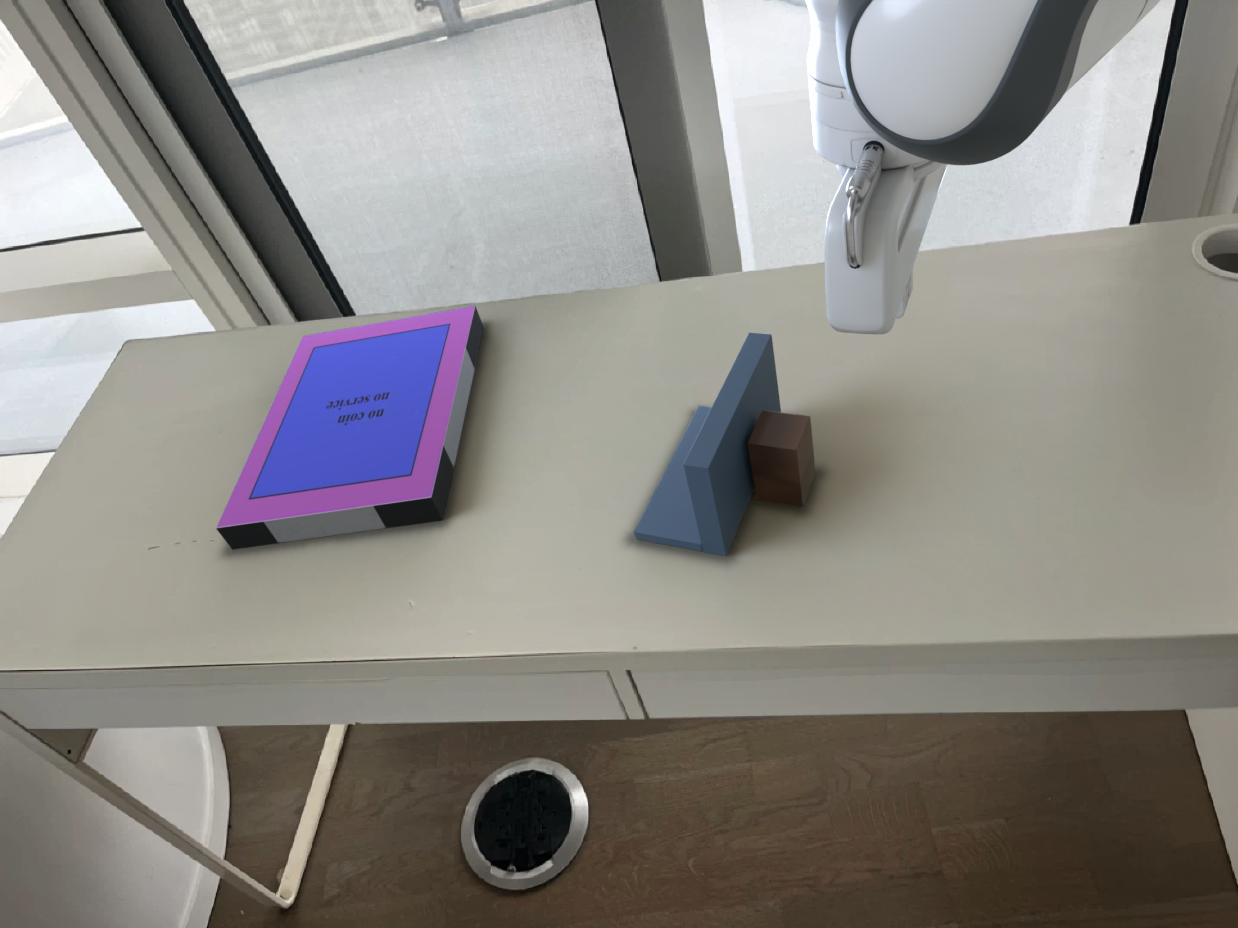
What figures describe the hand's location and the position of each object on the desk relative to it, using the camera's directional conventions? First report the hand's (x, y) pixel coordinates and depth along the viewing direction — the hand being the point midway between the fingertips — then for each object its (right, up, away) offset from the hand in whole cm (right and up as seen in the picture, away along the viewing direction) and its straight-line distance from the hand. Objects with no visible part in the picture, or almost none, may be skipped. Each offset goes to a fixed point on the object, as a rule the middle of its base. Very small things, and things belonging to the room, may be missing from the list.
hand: (894, 305), depth 62 cm
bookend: (-10, -12, +18) cm, 24 cm away
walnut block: (-5, -10, +13) cm, 17 cm away
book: (-44, -7, +34) cm, 57 cm away
